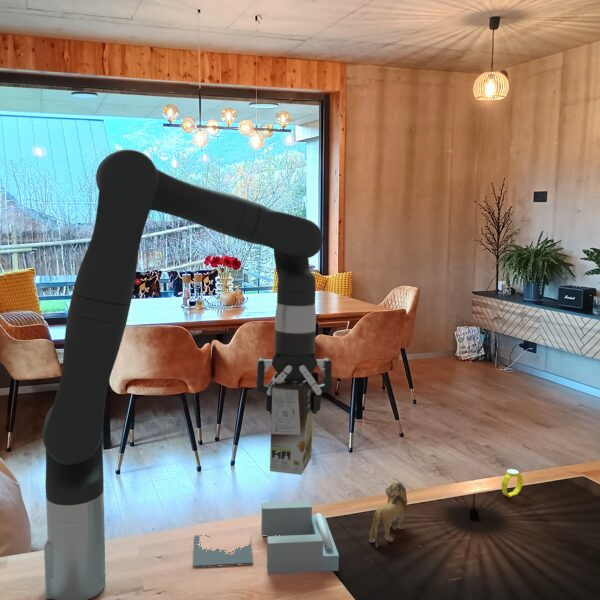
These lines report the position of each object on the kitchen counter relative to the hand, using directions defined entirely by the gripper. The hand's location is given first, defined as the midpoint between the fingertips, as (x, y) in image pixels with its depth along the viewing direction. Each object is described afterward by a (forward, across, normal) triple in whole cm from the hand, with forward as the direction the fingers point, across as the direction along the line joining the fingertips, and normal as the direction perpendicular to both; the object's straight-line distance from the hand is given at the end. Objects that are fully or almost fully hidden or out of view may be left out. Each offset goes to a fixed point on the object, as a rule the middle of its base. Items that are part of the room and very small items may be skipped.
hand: (292, 412), depth 122 cm
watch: (+28, +55, +20) cm, 65 cm away
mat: (+28, -13, +1) cm, 31 cm away
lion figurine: (+28, +21, +6) cm, 35 cm away
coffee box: (+10, 0, 0) cm, 10 cm away
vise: (+28, +2, 0) cm, 28 cm away
